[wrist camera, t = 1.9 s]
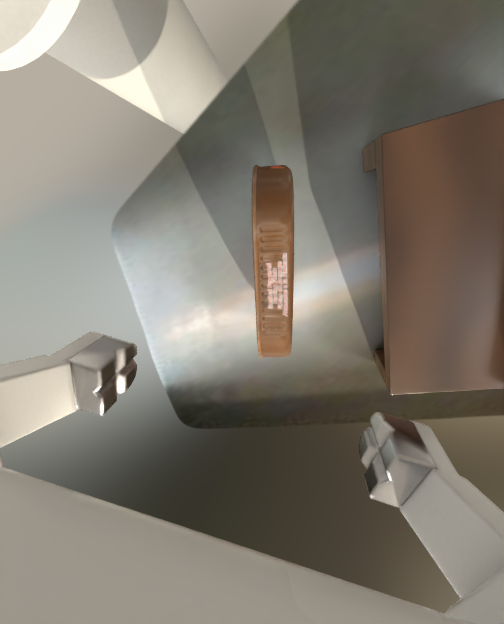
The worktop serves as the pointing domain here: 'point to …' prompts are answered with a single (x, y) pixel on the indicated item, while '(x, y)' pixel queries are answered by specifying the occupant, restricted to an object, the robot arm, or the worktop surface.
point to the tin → (273, 258)
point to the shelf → (442, 251)
